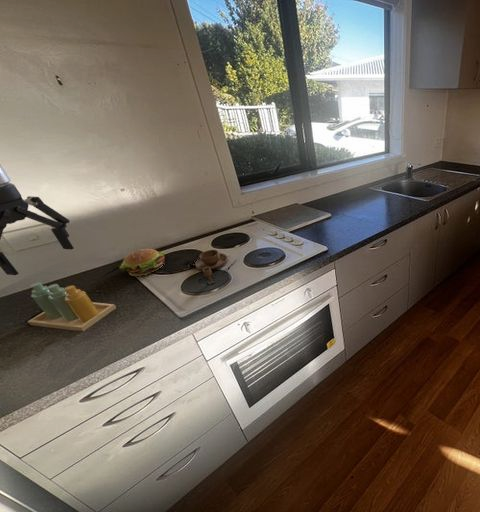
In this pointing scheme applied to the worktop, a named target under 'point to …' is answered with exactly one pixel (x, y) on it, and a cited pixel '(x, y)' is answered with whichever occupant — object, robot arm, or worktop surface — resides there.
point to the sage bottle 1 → (44, 300)
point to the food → (143, 262)
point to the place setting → (211, 262)
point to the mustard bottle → (80, 303)
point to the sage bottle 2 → (61, 302)
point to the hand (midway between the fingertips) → (42, 260)
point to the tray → (74, 324)
